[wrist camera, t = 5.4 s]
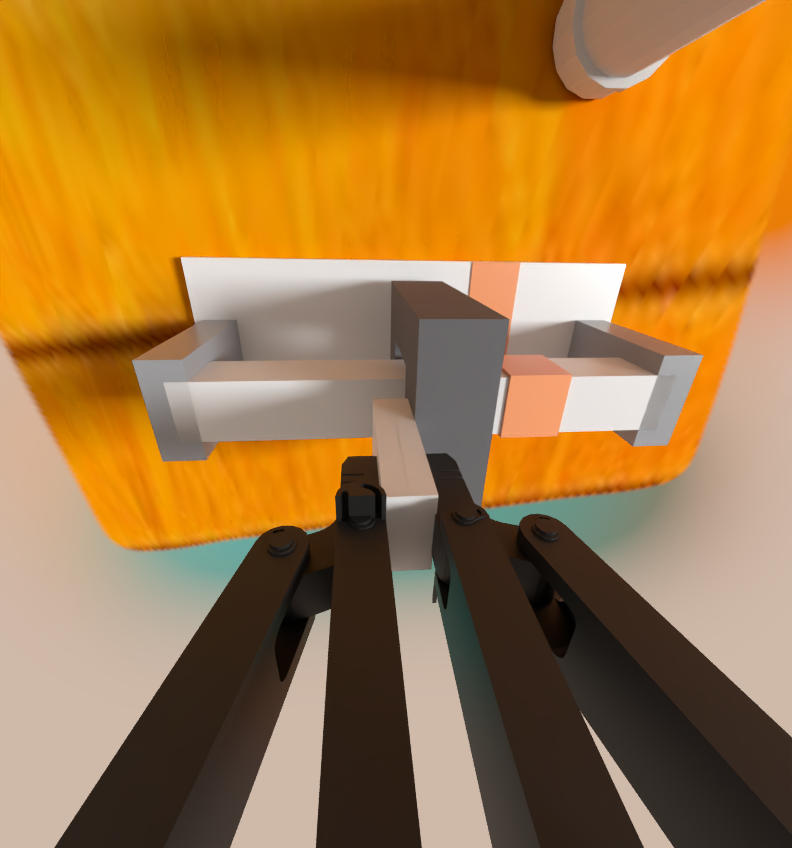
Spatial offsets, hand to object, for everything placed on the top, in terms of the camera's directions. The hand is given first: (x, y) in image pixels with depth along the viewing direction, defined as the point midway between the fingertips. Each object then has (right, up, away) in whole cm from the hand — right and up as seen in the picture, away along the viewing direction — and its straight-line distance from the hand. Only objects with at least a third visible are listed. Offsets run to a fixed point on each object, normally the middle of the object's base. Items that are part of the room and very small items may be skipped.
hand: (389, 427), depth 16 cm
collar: (+1, +4, +8) cm, 9 cm away
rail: (+1, +5, +10) cm, 11 cm away
